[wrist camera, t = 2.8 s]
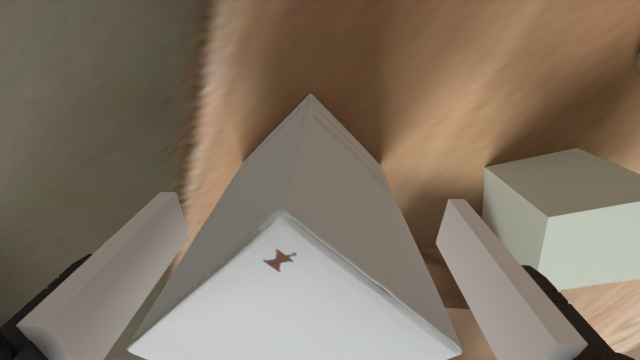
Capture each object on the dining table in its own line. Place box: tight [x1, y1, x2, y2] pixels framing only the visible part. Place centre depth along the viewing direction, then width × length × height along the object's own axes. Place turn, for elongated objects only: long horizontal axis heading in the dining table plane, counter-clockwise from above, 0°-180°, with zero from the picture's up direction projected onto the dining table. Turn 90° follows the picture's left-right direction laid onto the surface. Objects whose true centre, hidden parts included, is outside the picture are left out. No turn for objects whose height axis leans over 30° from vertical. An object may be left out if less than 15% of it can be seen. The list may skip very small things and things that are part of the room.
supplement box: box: [127, 94, 463, 360], centre depth 13 cm, size 7×7×13 cm
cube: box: [482, 148, 640, 290], centre depth 17 cm, size 6×6×6 cm
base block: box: [417, 246, 497, 360], centre depth 22 cm, size 11×11×6 cm
